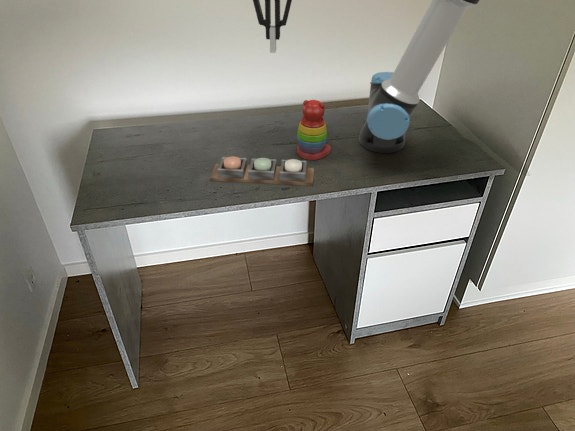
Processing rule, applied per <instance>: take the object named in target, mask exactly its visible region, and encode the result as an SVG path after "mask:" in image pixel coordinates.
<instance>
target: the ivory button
mask: <svg viewBox="0 0 575 431" xmlns="http://www.w3.org/2000/svg"><path fill="white" fill-rule="evenodd" d="M286 160H287V161H286V162H285V172H301V173H302V162H301V161H302V160H299V159H297V158H296V159H295V158H291V159H286Z"/></svg>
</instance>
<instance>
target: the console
mask: <svg viewBox="0 0 575 431" xmlns="http://www.w3.org/2000/svg"><path fill="white" fill-rule="evenodd" d="M227 157H228V156H222V157H221V160H220V162H219V163H215V164H214V167H213V169H212V171H211V175H210V181H213V182H228V183H229V182H230V183H231V182H232V183H233V182H234V183H250V184H251V183H252V184H253V183H254V184H270V185H275V184H276V185H293V186H310V187H311V186H314V176H315V175H314V174H315V167H307V160H300V161H301V162H302V173H301V172H285V162H286V161H287V160H288V159H281V162H280V166H279V165H277V159H276V158H274V159H273V158H269V159H270V160H271V171H259V170H254V161H255V160H256V159H257V158H251V160H250V164H248V159H247V157H239V158H240V160H241V170H238V169H224V159H225V158H227Z"/></svg>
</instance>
